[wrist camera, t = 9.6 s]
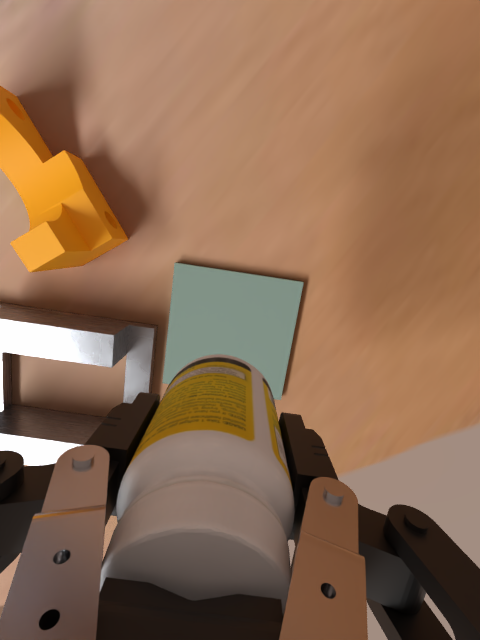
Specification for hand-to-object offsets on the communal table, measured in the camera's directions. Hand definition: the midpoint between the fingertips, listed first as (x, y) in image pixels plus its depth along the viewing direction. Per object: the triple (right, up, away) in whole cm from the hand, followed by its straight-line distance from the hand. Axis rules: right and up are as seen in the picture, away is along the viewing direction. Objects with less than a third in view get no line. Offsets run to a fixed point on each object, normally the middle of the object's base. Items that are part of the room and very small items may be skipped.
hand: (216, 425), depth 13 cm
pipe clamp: (-12, +15, +12) cm, 22 cm away
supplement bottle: (0, 0, +2) cm, 2 cm away
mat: (0, +3, +14) cm, 14 cm away
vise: (-14, -4, +16) cm, 21 cm away
